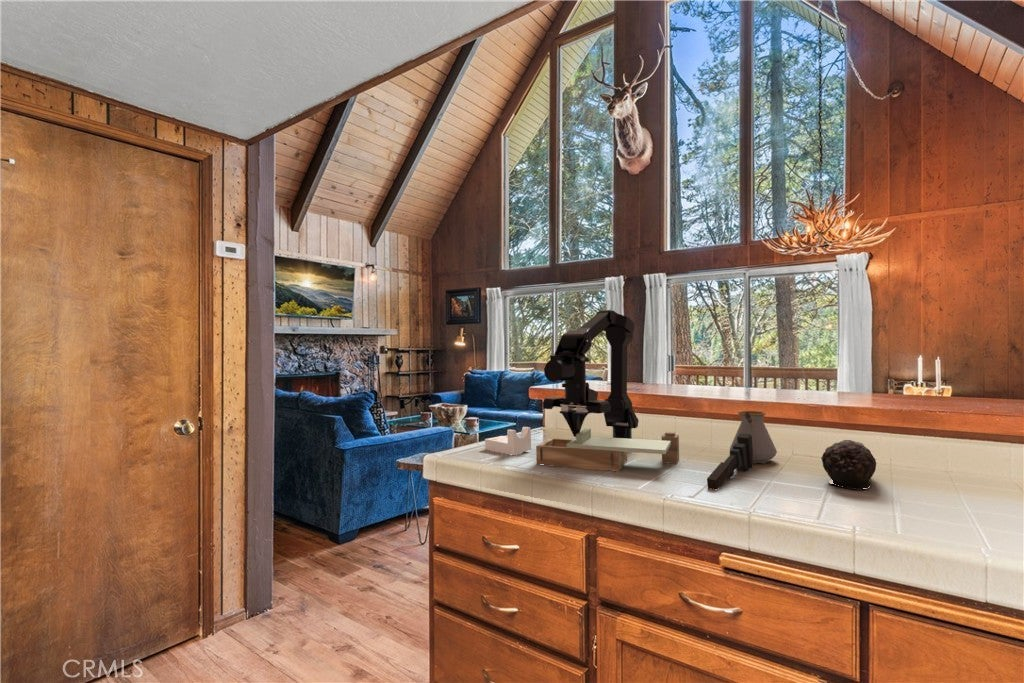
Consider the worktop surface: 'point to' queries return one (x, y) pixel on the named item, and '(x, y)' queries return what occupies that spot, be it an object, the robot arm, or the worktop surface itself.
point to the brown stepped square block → (671, 447)
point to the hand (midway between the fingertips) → (576, 436)
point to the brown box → (578, 456)
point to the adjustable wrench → (733, 461)
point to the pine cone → (849, 464)
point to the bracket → (510, 442)
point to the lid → (618, 444)
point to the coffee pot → (756, 436)
